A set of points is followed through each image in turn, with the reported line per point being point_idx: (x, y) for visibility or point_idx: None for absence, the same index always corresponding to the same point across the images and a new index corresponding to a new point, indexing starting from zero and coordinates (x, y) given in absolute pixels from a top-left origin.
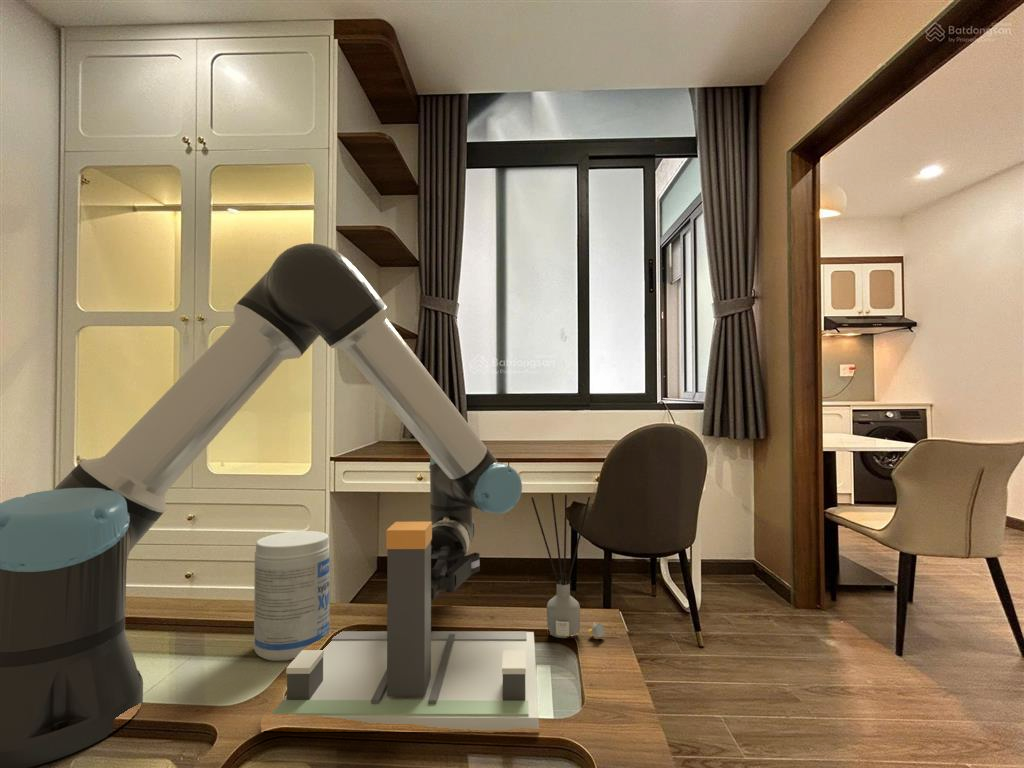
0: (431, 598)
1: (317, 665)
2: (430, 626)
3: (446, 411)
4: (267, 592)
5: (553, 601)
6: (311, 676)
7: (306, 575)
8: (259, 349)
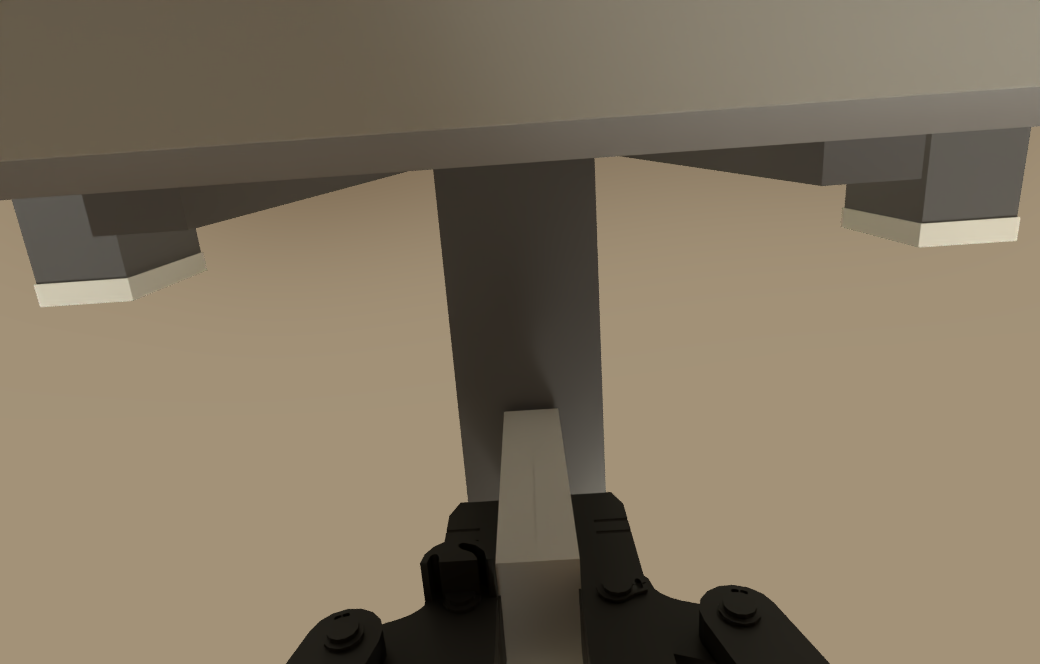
0: (599, 497)
1: (160, 256)
2: (600, 366)
3: None
4: None
5: None
6: (187, 236)
7: None
8: None
